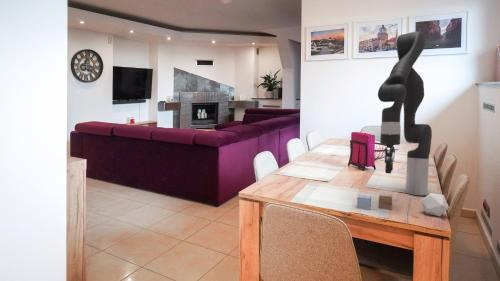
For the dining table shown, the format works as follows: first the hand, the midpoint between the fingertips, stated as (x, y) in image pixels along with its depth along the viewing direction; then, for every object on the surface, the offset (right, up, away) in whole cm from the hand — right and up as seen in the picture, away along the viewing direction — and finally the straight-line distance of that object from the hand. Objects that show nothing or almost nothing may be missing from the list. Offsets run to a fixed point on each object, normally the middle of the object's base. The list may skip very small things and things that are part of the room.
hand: (389, 171), depth 133 cm
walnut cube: (-1, -16, +2) cm, 16 cm away
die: (+11, -11, -4) cm, 16 cm away
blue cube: (-10, -16, +2) cm, 19 cm away
